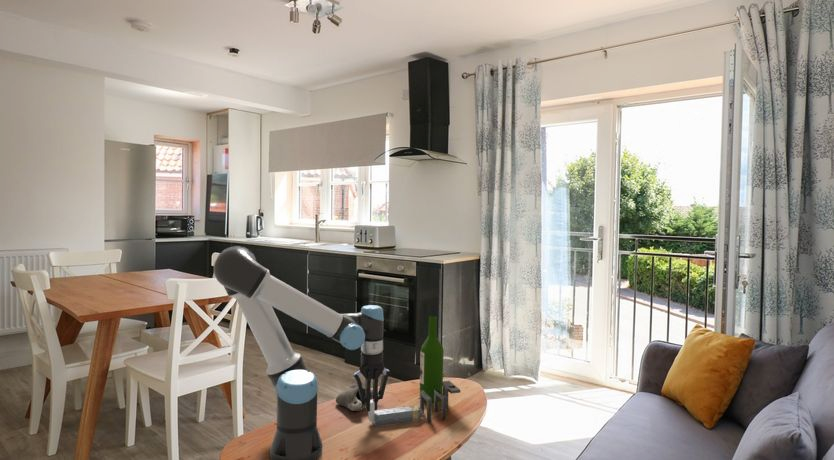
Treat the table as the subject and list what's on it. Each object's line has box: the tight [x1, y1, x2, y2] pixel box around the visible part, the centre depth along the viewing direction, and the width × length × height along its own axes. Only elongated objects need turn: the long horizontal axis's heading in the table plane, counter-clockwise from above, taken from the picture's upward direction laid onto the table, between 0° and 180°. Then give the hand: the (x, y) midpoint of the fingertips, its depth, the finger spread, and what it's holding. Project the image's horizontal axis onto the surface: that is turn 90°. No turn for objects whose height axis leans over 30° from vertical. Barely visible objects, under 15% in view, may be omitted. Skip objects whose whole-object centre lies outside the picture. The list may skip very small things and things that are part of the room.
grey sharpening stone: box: [371, 405, 424, 428], centre depth 168 cm, size 18×4×4 cm, turn 110°
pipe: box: [335, 383, 373, 412], centre depth 180 cm, size 16×9×15 cm
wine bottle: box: [419, 315, 444, 405], centre depth 188 cm, size 9×9×32 cm
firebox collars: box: [419, 380, 461, 424], centre depth 175 cm, size 12×10×10 cm
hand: (371, 419), depth 165 cm, fingers closed
